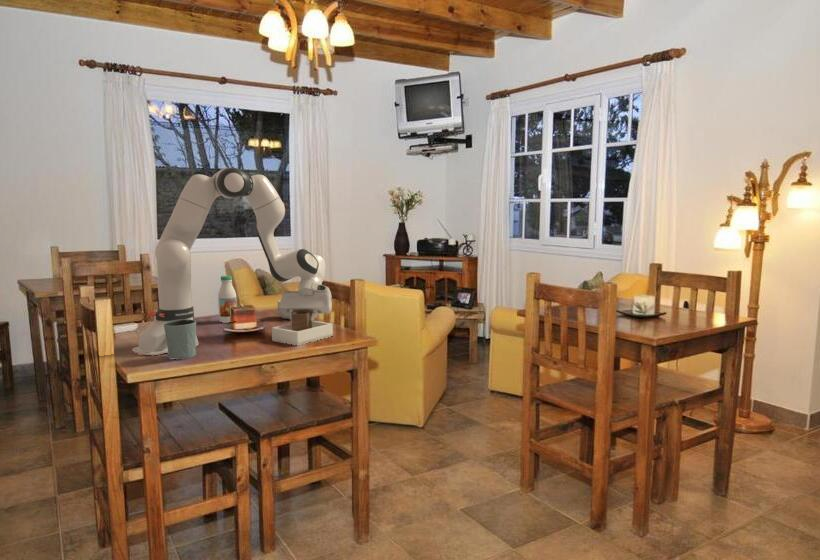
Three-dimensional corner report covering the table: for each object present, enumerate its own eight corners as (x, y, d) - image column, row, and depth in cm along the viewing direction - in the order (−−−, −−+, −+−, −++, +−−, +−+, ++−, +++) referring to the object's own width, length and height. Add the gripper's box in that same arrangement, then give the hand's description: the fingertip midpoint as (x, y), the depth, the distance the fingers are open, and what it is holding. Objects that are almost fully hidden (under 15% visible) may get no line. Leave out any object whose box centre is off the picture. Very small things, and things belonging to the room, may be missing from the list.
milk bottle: (215, 322, 259) (212, 276, 256) (228, 319, 265) (226, 274, 263) (228, 324, 255) (226, 277, 252) (241, 320, 262) (239, 275, 259)
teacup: (275, 317, 269) (275, 299, 268) (299, 314, 274) (298, 297, 273) (282, 322, 257) (282, 304, 256) (307, 320, 261) (306, 302, 260)
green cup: (201, 352, 207) (199, 318, 205) (192, 360, 197) (190, 325, 195) (172, 353, 206) (169, 319, 205) (161, 361, 196) (159, 325, 195)
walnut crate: (307, 334, 223) (306, 314, 222) (292, 333, 224) (291, 314, 223) (312, 330, 229) (311, 311, 228) (297, 330, 230) (296, 311, 229)
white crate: (297, 345, 215) (297, 332, 215) (272, 340, 224) (271, 327, 223) (332, 336, 230) (332, 323, 229) (307, 331, 238) (307, 319, 237)
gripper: (281, 286, 232) (272, 315, 224) (332, 287, 229) (325, 317, 221) (285, 295, 237) (277, 325, 229) (335, 296, 234) (329, 326, 226)
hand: (301, 321), depth 225 cm, fingers closed on walnut crate, 6 cm apart
